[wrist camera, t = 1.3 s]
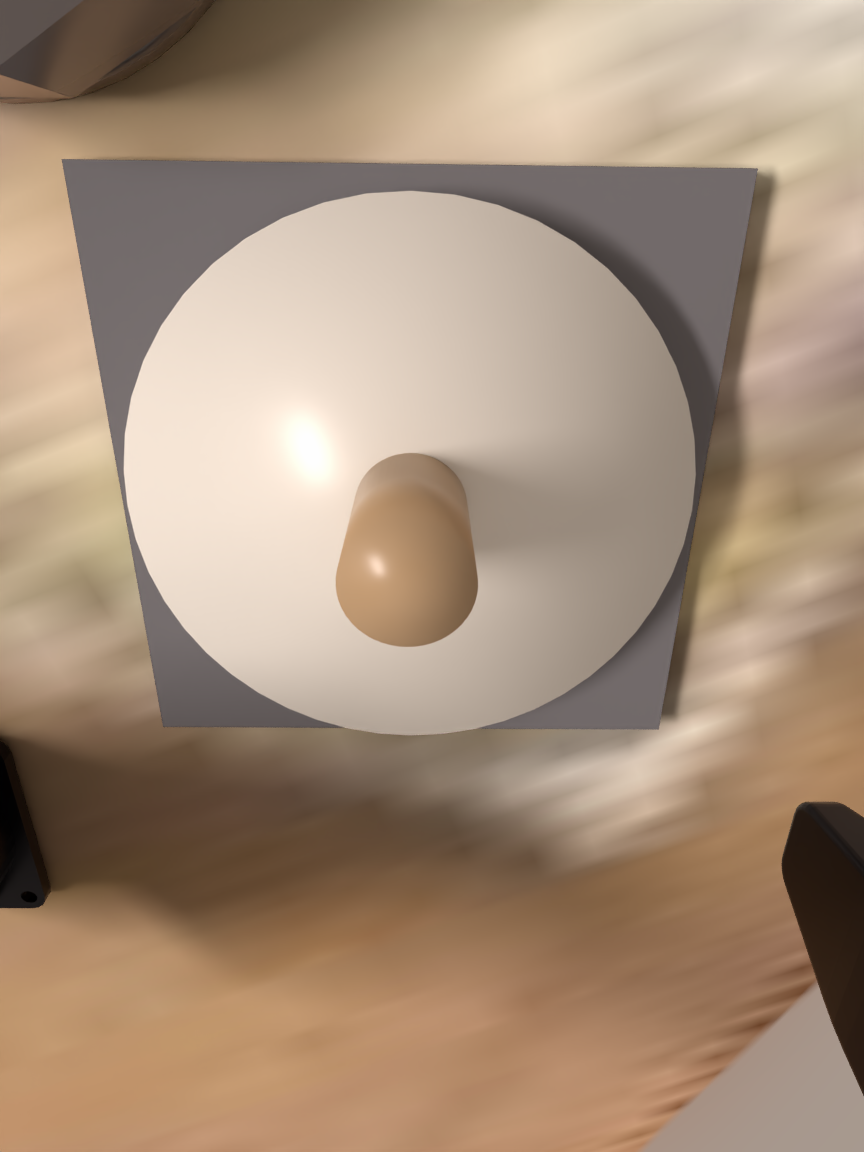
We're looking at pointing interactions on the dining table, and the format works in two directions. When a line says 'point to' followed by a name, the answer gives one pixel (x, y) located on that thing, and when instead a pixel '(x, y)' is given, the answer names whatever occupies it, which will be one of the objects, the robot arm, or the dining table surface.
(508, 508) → the lid
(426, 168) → the mat
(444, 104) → the dining table surface
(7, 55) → the bowl
